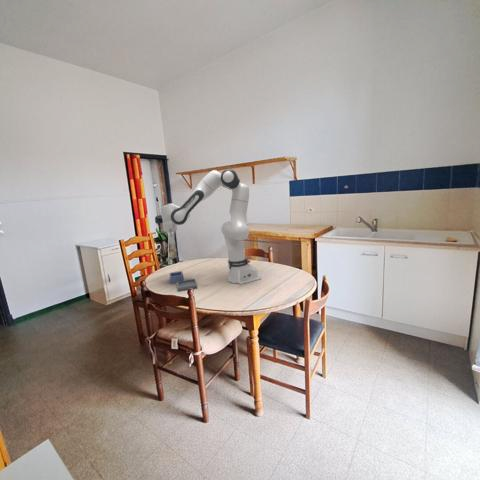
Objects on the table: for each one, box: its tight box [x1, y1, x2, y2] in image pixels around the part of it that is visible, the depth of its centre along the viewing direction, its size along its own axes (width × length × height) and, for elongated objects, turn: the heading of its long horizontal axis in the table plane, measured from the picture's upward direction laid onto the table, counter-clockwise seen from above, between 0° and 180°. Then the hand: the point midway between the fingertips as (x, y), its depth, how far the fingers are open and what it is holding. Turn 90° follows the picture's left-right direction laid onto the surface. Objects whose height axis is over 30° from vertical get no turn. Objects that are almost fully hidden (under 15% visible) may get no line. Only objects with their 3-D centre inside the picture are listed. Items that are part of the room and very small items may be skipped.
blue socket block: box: [169, 271, 185, 285], centre depth 181 cm, size 9×9×5 cm
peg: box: [168, 243, 178, 260], centre depth 176 cm, size 4×4×10 cm
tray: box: [176, 278, 199, 292], centre depth 169 cm, size 12×12×2 cm
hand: (172, 248), depth 176 cm, fingers closed on peg, 4 cm apart
